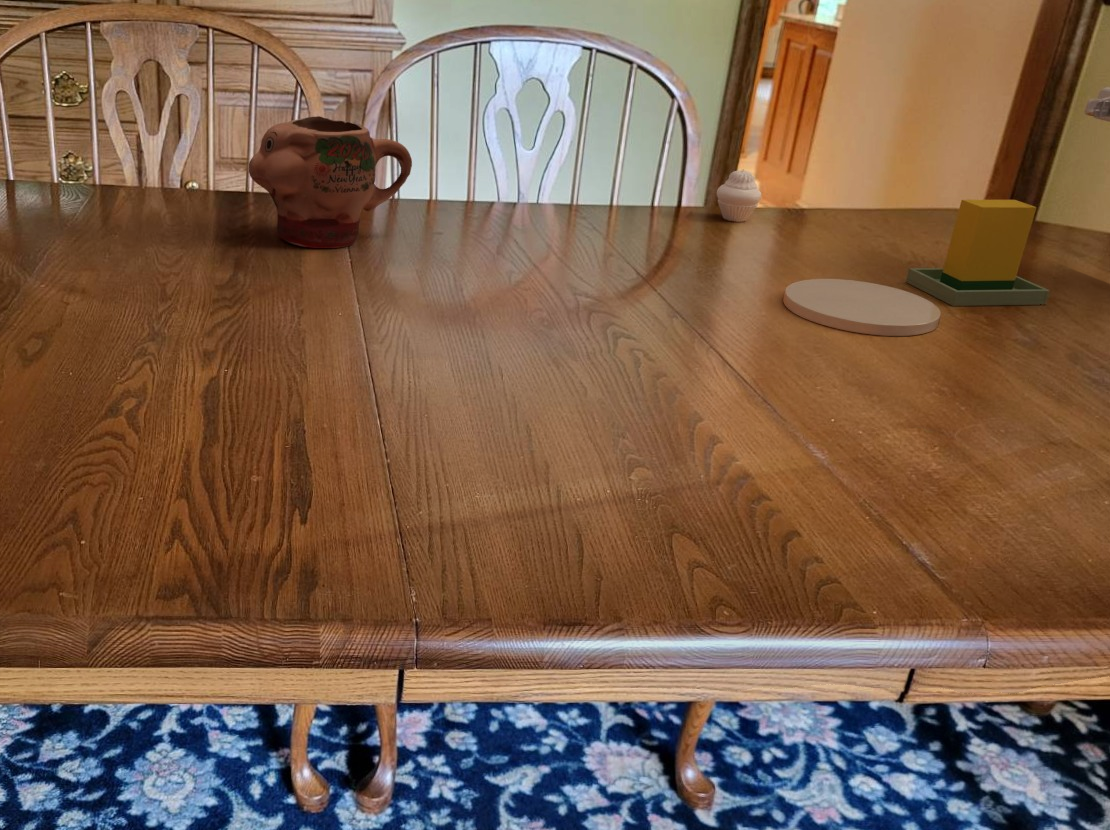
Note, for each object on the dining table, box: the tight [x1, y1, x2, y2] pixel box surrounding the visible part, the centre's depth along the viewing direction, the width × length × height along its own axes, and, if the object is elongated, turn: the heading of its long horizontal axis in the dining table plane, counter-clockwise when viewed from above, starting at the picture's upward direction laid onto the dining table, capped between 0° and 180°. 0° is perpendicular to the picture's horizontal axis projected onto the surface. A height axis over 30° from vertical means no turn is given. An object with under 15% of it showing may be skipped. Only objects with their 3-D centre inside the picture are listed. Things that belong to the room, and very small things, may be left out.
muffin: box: [716, 168, 762, 223], centre depth 155 cm, size 6×6×7 cm
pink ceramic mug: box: [248, 115, 413, 249], centre depth 133 cm, size 20×12×14 cm, turn 112°
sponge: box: [940, 199, 1037, 290], centre depth 126 cm, size 7×4×10 cm, turn 101°
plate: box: [782, 278, 942, 337], centre depth 120 cm, size 16×16×1 cm
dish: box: [905, 267, 1051, 307], centre depth 128 cm, size 12×9×2 cm
